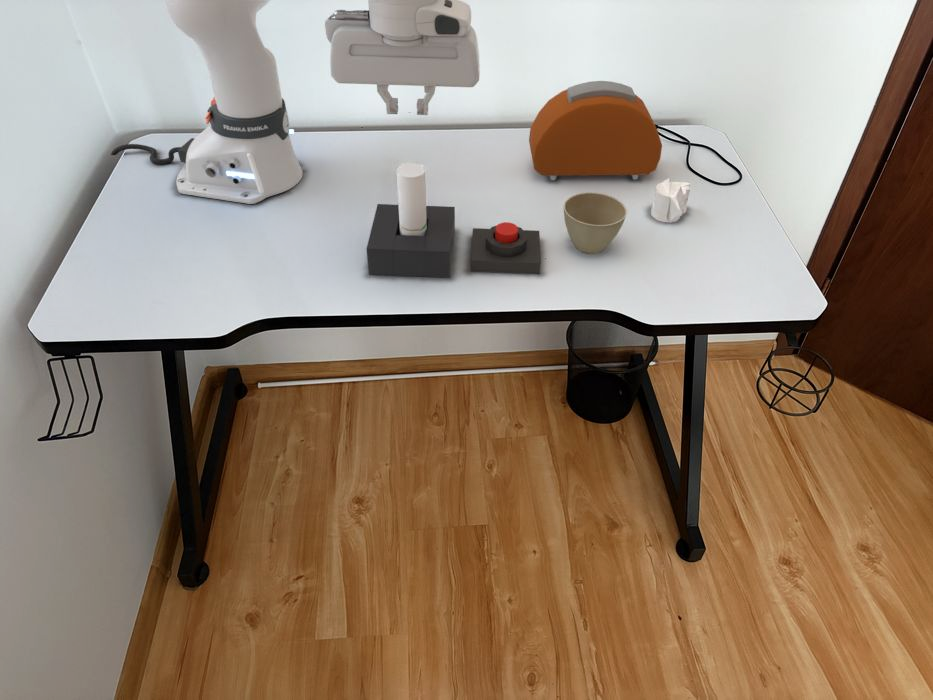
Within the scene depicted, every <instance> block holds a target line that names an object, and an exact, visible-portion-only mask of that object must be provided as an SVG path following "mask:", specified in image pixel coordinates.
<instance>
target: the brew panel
mask: <svg viewBox="0 0 933 700" xmlns="http://www.w3.org/2000/svg"><path fill="white" fill-rule="evenodd" d="M496 226H497V225H494V226H491V227H490V228H480V227H479V228H478V227H477V228H474V227H473V228H472V233H471V235H472V236H471V249H470V265H469V266H470V268H469V269H470V270H469V271H470V272H478V273H502V274H503V273H504V274H526V275H527V274H529V275H531V274H533V275H535V274H536V275H540V274H541V266H542V265H541V264H542V261H541V260H542V259H541V236H540V235H541V234H540V230H535V229H534V230H532V229H531V230H529V229H523V228H522V227H521V226H517V227H518V239H517V241H515V242H513V243H501V242H499V241H497V240H496V239H495V228H496Z"/></svg>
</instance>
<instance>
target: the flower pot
mask: <svg viewBox="0 0 933 700" xmlns="http://www.w3.org/2000/svg"><path fill="white" fill-rule="evenodd" d="M627 213H628V211H627V207H626V205H625V204H624V203H623V202H622V201H621V200H619V199H618V198H616V197H614V196H612V195H609V194H605V193H602V192H592V191H591V192H589V191H588V192H579V193H575V194H573V195H571V196H569V197H568V198H567V199H566V200H565V201H564V203H563V217H564V224H565V228H566V231H567V234H568V237H569V239H570V241H571V243H572V244H573V246H574V248H575V249H577V250H578V251H579V252H582V253H583V254H591V255H593V254H594V255H595V254H599V253H601V252H603V251H604V250H605V249H607V247H608V246H609V245H610V244H611V243H612V242H613V240H614V239H615V238H616V237H617V235H618V234H619V232H620V230H621V228H622V226H623V224H624V222H625V220H626V218H627Z"/></svg>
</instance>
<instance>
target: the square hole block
mask: <svg viewBox="0 0 933 700" xmlns="http://www.w3.org/2000/svg"><path fill="white" fill-rule="evenodd" d="M374 213H375V214H374V216H373V222H372V225H371V229H370V233H369V237H368V241H367V245H366V256H367V268H368V270H367V271H368V275H370V276H389V277H391V276H392V277H418V278H419V277H420V278H442V279H451V273H452V263H453V253H454V243H455V233H456V206H446V205H445V206H444V205H443V206H442V205H426V220H427V222H426V224H427V234H426V236H409V235H400V223H399V205H398V204H391V203H389V204H387V203H378V204H377V205H376V209H375V212H374Z"/></svg>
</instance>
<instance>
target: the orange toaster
mask: <svg viewBox="0 0 933 700" xmlns="http://www.w3.org/2000/svg"><path fill="white" fill-rule="evenodd" d="M528 137H529V138H528V142H529V149H530V153H531V155H530V156H531V160H532V165H533V169H534V171H535V172H536V173H538V174H540V175H541V176H549V178H550V181H556V179H557V177H558V176H631V179H632V180H633V181H636V180H638V179H639V176H640V175H641V176H643V175H644V176H645V175H649V174H651V173H652V172H654V171H656V170H657V168H658V165H659V163H660V160H661V155H662V149H663V144H662V141H661V137H660V133H659V131H658V129H657V126H656V124H655V123H654V120H653V118H652V116H651V114H650V112H649V110H648V108H647V106H646V104H645V103H644V100H643V99H641V97H640V96H638V95H637V94H635V92H634V90H633V88H632V87H631V86H629V85H626V84H623V83H619V82H616V81H610V80H609V81H608V80H595V81H594V80H593V81H587V82H582V83H581V82H580V83H578V84H575V85H572V86H569V87H568V88H566V89H564V90H562V91H560V92H559V93H557V94H556V95H554V96H553V97H551V98H550V99H548V101H547V102H546V103H545V104H544V105H543V106H542V108H540V110H539V111H538V113H537V114H536V117H535V118H534V120H533V122H532V123H531V125H530V128H529V135H528Z"/></svg>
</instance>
